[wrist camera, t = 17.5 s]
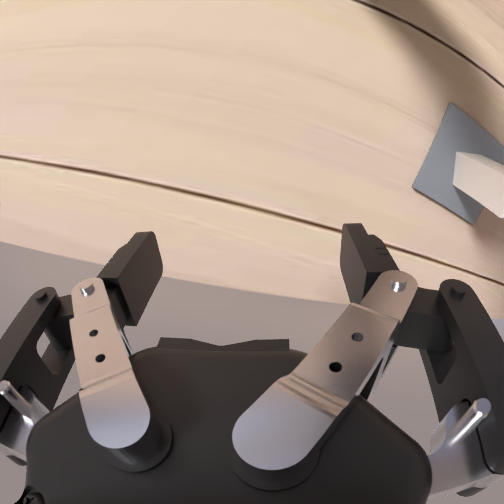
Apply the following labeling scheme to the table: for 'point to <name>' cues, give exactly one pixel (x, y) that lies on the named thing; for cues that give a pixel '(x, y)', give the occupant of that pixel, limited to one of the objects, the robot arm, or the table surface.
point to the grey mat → (443, 161)
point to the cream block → (481, 180)
